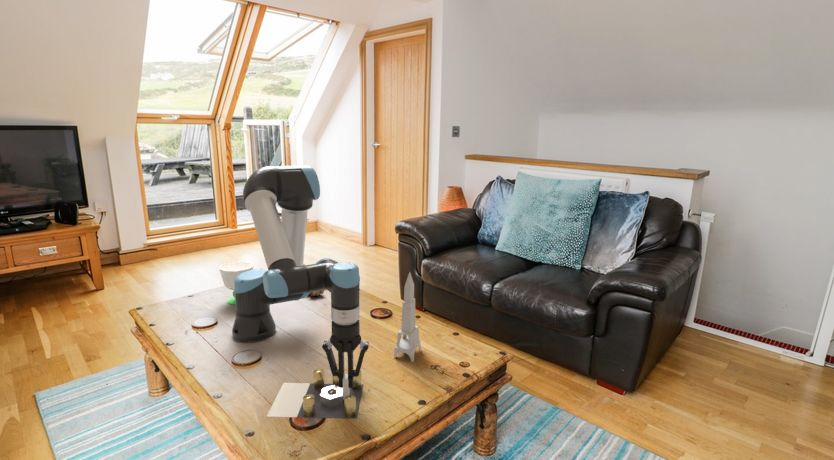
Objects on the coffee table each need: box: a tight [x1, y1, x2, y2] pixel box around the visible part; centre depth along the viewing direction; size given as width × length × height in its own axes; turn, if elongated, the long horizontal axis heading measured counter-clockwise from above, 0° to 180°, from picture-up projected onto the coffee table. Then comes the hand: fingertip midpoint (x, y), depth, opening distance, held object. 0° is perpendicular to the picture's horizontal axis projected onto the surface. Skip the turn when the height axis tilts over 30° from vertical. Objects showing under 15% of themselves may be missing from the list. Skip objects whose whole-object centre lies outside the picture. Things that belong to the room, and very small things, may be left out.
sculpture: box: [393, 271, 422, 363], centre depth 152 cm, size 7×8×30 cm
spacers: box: [303, 368, 362, 419], centre depth 128 cm, size 14×16×5 cm
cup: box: [218, 260, 254, 306], centre depth 195 cm, size 14×14×16 cm
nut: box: [320, 385, 343, 407], centre depth 128 cm, size 7×6×3 cm
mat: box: [266, 382, 364, 419], centre depth 128 cm, size 24×16×1 cm, turn 90°
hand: (346, 396), depth 128 cm, fingers closed
